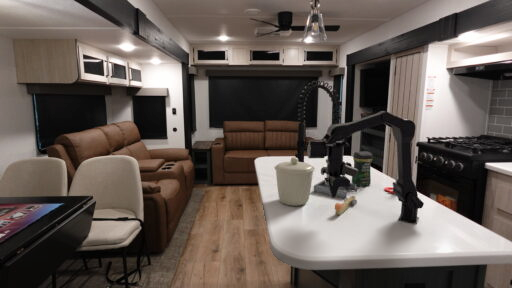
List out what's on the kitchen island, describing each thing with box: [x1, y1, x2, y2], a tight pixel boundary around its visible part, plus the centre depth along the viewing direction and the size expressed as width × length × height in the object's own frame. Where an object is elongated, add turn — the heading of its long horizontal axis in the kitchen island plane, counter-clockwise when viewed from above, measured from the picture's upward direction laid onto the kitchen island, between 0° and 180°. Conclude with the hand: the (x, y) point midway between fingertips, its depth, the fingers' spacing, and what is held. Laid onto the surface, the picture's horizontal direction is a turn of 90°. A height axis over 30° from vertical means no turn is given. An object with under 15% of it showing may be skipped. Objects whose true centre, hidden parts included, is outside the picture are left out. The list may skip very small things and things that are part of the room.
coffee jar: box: [351, 151, 373, 187], centre depth 157 cm, size 10×8×19 cm
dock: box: [313, 179, 358, 207], centre depth 142 cm, size 23×23×4 cm
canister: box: [273, 156, 315, 207], centre depth 130 cm, size 18×18×21 cm
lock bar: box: [334, 195, 356, 216], centre depth 124 cm, size 20×2×4 cm, turn 144°
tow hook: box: [383, 167, 398, 195], centre depth 146 cm, size 8×13×9 cm
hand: (333, 197), depth 111 cm, fingers closed
